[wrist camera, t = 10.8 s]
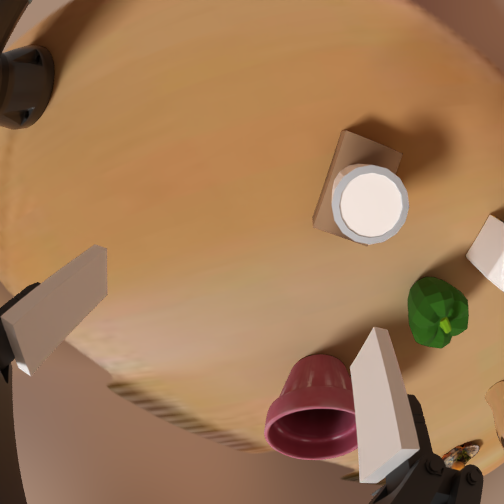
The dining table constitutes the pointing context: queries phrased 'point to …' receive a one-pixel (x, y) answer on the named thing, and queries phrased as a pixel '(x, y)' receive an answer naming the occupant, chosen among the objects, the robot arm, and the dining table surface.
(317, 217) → the walnut base block
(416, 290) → the bell pepper
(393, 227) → the white cup
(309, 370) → the plant pot
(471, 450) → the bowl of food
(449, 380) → the dining table surface
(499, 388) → the beer glass
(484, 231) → the medicine bottle
